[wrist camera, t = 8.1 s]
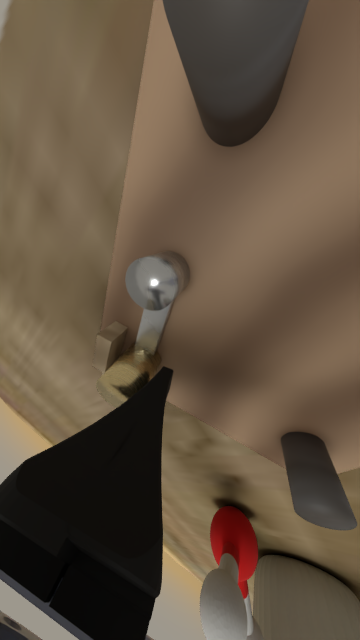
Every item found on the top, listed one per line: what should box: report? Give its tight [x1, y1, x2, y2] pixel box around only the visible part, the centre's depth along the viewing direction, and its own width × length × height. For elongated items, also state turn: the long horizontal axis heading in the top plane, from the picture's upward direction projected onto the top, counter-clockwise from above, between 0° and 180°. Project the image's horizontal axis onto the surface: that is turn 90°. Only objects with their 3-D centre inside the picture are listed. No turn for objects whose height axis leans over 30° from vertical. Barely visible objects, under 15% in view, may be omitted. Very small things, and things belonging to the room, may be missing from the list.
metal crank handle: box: [96, 251, 190, 408], centre depth 9 cm, size 9×3×3 cm, turn 161°
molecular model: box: [200, 506, 264, 640], centre depth 19 cm, size 18×6×10 cm, turn 17°
